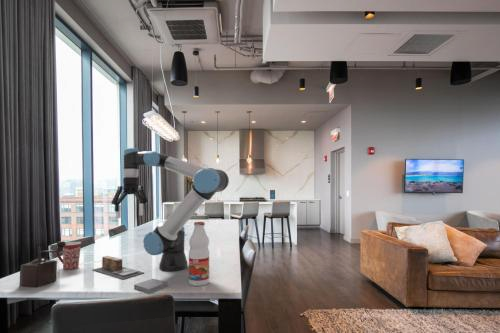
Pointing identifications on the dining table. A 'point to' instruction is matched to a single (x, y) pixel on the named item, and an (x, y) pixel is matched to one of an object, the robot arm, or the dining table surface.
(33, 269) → the manual coffee grinder
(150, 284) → the tile
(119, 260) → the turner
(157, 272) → the dining table surface
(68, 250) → the mug
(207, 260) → the fruit juice
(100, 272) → the mat
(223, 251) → the dining table surface
